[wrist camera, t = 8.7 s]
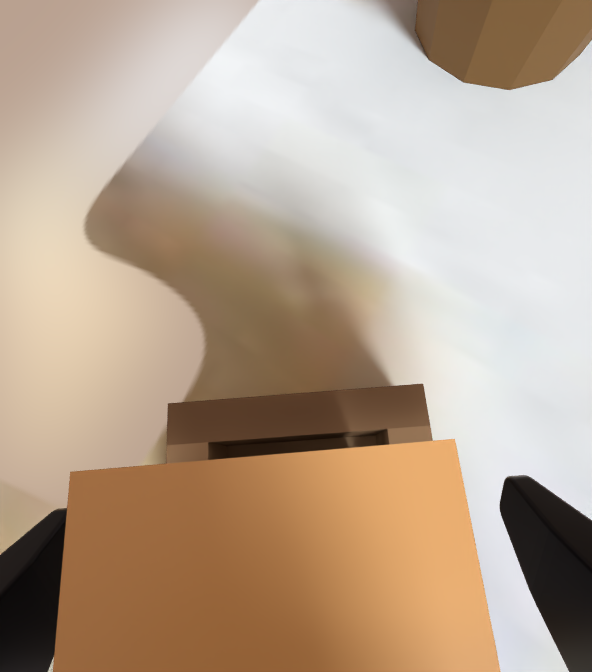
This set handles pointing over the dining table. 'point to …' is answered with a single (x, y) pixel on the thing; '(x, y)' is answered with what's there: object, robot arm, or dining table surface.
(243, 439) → the end holder
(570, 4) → the flowerpot
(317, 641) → the connector plug
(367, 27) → the dining table surface
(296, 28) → the dining table surface
